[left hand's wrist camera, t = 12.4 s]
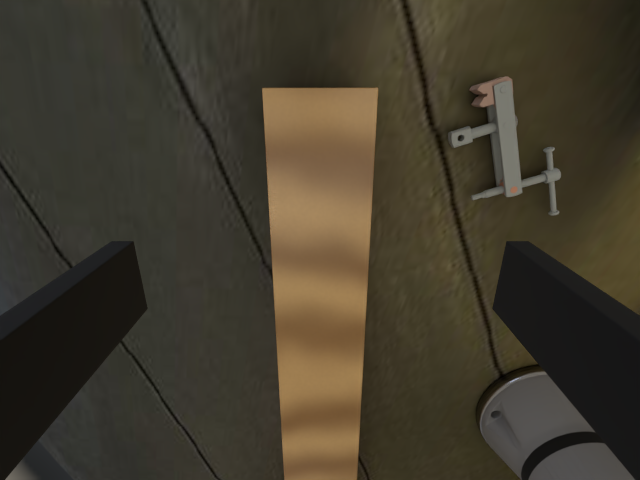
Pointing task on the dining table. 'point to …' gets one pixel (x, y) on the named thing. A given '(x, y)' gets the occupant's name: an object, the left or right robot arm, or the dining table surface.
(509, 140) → the clamp
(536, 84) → the dining table surface
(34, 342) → the left robot arm
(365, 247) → the wide beam
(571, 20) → the dining table surface
